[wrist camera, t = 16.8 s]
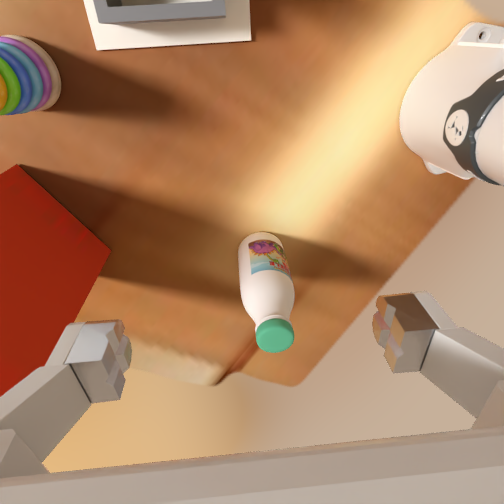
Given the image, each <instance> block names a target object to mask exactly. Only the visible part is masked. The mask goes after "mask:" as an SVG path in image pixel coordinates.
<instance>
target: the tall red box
mask: <svg viewBox="0 0 504 504" xmlns="http://www.w3.org/2000/svg"><path fill="white" fill-rule="evenodd" d="M110 252H111V250H110V249H109V248H108V247H107V246H106V245H105V244H104V243H103V242H102V241H100V240H99V239H98V238H97V237H96V236H95V235H94V234H93V233H92V232H91V231H90V230H88V229H87V228H86V227H85V226H84V225H83V224H82V223H81V222H80V221H79V220H77V219H76V218H75V217H74V216H73V215H72V214H71V213H70V212H69V211H68V210H67V209H65V208H64V207H63V206H62V205H61V204H60V203H59V202H58V201H57V200H56V199H54V198H53V197H52V196H51V195H50V194H49V193H48V192H47V191H46V190H45V189H44V188H42V187H41V186H40V185H39V184H38V183H37V182H36V181H35V180H34V179H33V178H31V177H30V176H29V175H28V174H27V173H26V172H25V171H24V170H23V169H22V168H21V167H19V166H18V165H17V164H16V165H15V166H13V167H11V168H10V169H8V170H7V171H5V172H4V173H2V174H0V397H1V396H2V395H4V394H5V393H6V392H7V391H9V390H10V389H11V388H13V387H14V386H15V385H17V384H18V383H19V382H20V381H22V380H23V379H24V378H26V377H27V376H28V375H30V374H31V373H32V372H33V371H35V370H36V369H37V368H39V367H44V366H45V364H46V363H47V361H48V359H49V357H50V355H51V353H52V352H53V350H54V348H55V346H56V344H57V342H58V341H59V339H60V337H61V335H62V333H63V331H64V329H65V328H66V326H67V325H69V324H70V323H74V321H75V319H76V317H77V315H78V313H79V311H80V309H81V307H82V306H83V304H84V302H85V300H86V298H87V296H88V294H89V292H90V290H91V289H92V287H93V285H94V283H95V281H96V279H97V277H98V275H99V273H100V271H101V270H102V268H103V266H104V264H105V262H106V260H107V258H108V256H109V254H110Z"/></svg>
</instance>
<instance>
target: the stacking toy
mask: <svg viewBox="0 0 504 504" xmlns="http://www.w3.org/2000/svg"><path fill="white" fill-rule="evenodd" d="M60 92H61V79H60V75H59V72H58V69H57V67H56V65H55V63H54V61H53V60H52V58H51V57H50V56H49V55H48V53H47V52H46V51H45V50H44V49H43V48H41V47H40V46H39V45H38V44H36V43H35V42H33V41H31V40H29V39H27V38H25V37H22V36H18V35H3V36H0V115H14V114H22V113H26V112H29V111H42V110H45V109H48V108H50V107H51V106H52V105H54V104H55V103H56V101H57V100H58V98H59V95H60Z"/></svg>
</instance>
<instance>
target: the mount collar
mask: <svg viewBox="0 0 504 504" xmlns="http://www.w3.org/2000/svg"><path fill="white" fill-rule="evenodd" d="M84 4H85V8H86V11H87V15H88V19H89V23H90V26H91V30H92V34H93V38H94V41H95V45H96V49H97V50H108V49H124V48H140V47H156V46H171V45H187V44H203V43H219V42H234V41H250V40H251V26H250V4H249V0H84Z"/></svg>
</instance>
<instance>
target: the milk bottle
mask: <svg viewBox="0 0 504 504" xmlns="http://www.w3.org/2000/svg"><path fill="white" fill-rule="evenodd" d="M238 265H239V279H240V290H241V298H242V302H243V305H244V307H245V309H246V311H247V313H248V314H249V315H250V317H251V318H252V319H253V320H254V321H255V323H256V328H255V331H256V340H257V344H258V346H259V347H260V348H261V349H262V350H264V351H266V352H271V353H276V352H281V351H284V350H286V349H288V348H289V347H290V346H291V345H292V344H293V341H294V331H293V328H292V323H291V322H290V320H289V316H290V313H291V310H292V308H293V304H294V298H295V293H294V286H293V281H292V277H291V273H290V270H289V266H288V262H287V259H286V255H285V252H284V248H283V245H282V243H281V241H280V240H279V239H278V238H277V237H276V236H274V235H272V234H270V233H267V232H257V233H253V234H251V235H249V236H247V237H246V238H245V239H244V240H243V241H242V242H241V244H240V246H239V249H238Z"/></svg>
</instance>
